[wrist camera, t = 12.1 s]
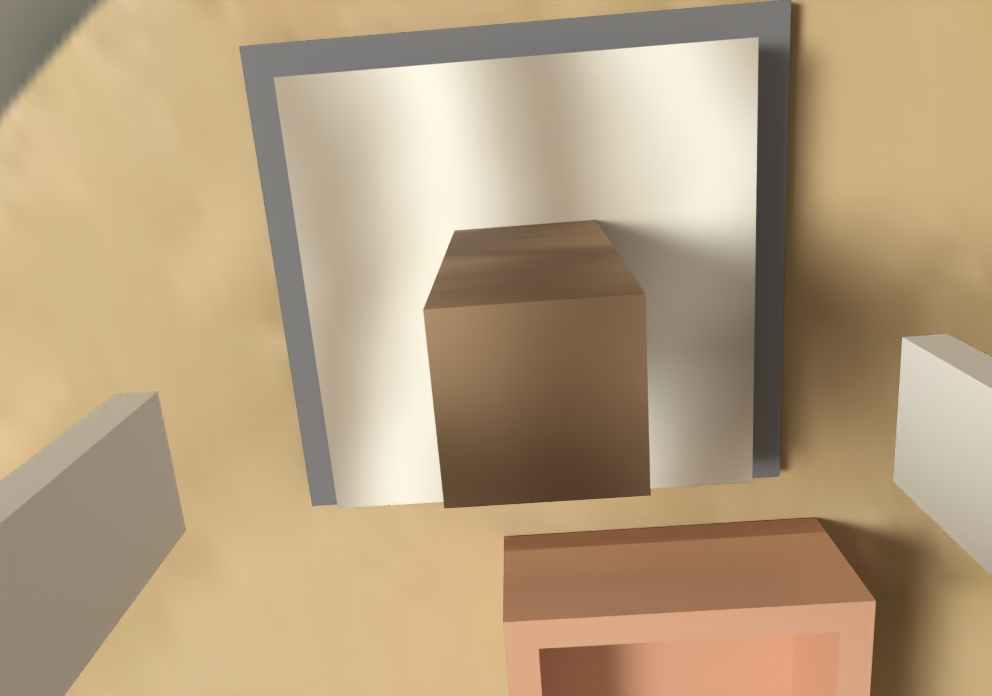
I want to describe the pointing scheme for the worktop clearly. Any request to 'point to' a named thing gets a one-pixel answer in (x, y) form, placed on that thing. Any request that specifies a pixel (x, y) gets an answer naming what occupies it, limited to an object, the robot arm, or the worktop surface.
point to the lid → (531, 272)
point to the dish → (686, 612)
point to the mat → (519, 42)
